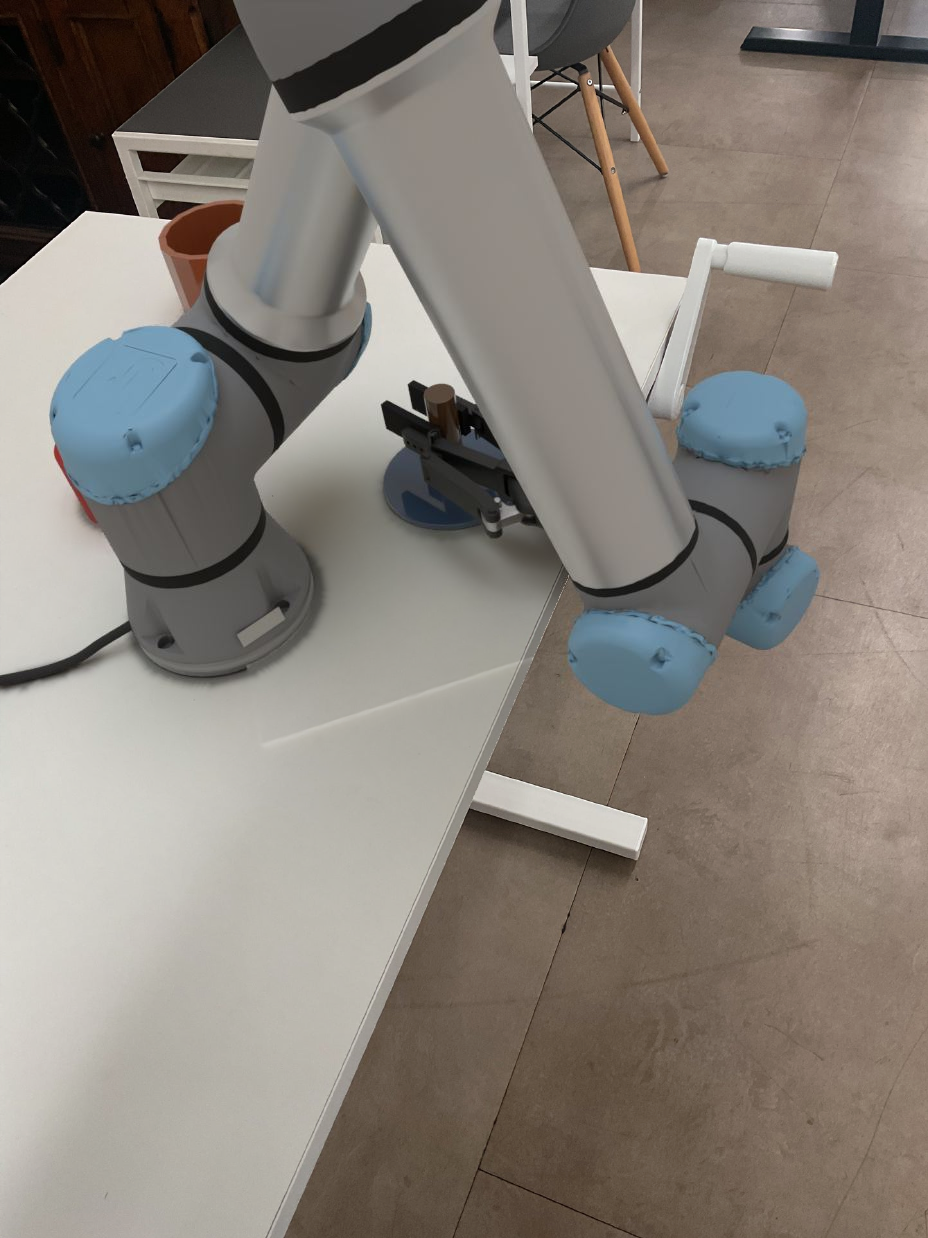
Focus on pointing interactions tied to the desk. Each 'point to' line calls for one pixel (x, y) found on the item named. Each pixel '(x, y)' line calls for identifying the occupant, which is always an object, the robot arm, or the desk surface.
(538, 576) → the desk surface
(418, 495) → the lid
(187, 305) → the jar
